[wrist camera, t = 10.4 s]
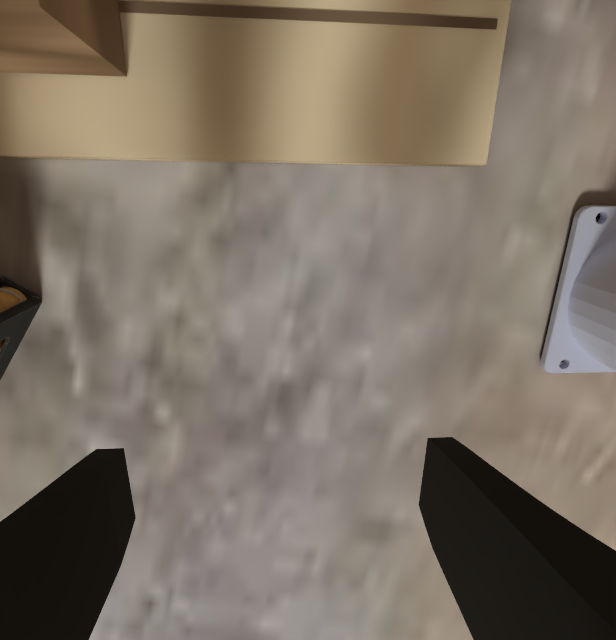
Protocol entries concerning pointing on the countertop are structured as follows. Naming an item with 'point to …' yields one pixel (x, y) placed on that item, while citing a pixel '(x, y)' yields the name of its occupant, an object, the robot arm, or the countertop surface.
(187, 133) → the board
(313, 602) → the countertop surface
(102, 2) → the mallet
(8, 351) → the ammunition clip
